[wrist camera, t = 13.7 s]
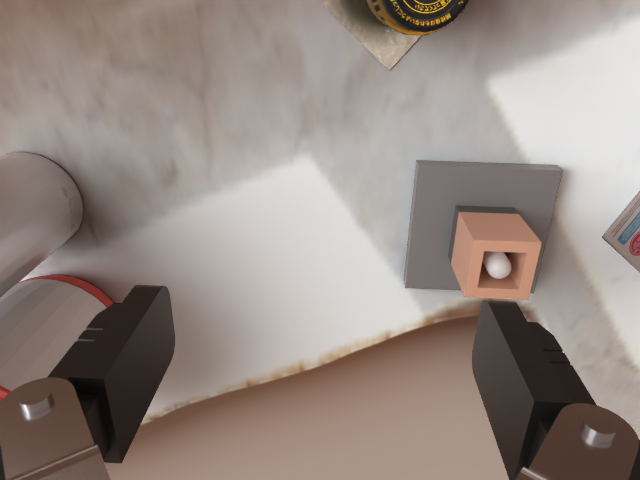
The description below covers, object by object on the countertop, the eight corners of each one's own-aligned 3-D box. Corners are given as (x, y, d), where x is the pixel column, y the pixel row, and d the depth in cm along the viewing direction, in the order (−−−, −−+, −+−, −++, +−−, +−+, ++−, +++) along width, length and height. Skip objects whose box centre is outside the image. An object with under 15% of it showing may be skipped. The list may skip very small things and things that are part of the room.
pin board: (403, 279, 49) (414, 334, 41) (416, 160, 44) (432, 195, 36) (528, 285, 49) (564, 340, 41) (556, 165, 43) (603, 202, 36)
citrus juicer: (-48, 293, 52) (-255, 449, 34) (86, 231, 48) (-68, 369, 30) (47, 400, 58) (-88, 580, 40) (173, 351, 54) (87, 527, 36)
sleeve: (447, 256, 46) (464, 297, 40) (455, 205, 44) (473, 240, 38) (503, 258, 46) (528, 299, 40) (513, 207, 44) (541, 242, 37)
